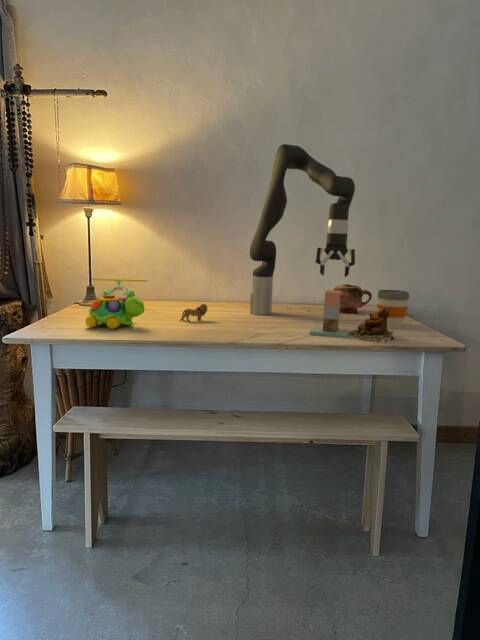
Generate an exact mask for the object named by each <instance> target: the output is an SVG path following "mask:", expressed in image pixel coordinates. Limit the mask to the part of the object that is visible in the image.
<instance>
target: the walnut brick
mask: <svg viewBox="0 0 480 640" xmlns="http://www.w3.org/2000/svg"><path fill="white" fill-rule="evenodd" d="M339 321H340V316H339V317H338V319H325V318H324V317H323V322H322V324H323V325H322V327H323V331H325V332H337V330H338V328H339V324H340V323H339Z"/></svg>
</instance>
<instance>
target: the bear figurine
mask: <svg viewBox="0 0 480 640" xmlns="http://www.w3.org/2000/svg"><path fill="white" fill-rule="evenodd" d="M389 310H390V308H388V309H386V308H385V307H384V308H381V309H378V308H377V309H375V310H374V312H373V313H372V312H369V318H366V319H365V320H364V322H362V323H360V324H359V325H358V326H357V329H353V330H351V331H350V333H349V335H351V336H353V337H356V338H357V339H363V340H366V341H367V340H368V341H372V342H375V341H378V342H380V343H386V342H389V341H391V340H392V339H396V336H395V335H394V332H393V331H391V330H388V328H387V317H388V316H389Z"/></svg>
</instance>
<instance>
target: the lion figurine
mask: <svg viewBox="0 0 480 640" xmlns="http://www.w3.org/2000/svg"><path fill="white" fill-rule="evenodd" d="M207 312H208V305H207V304H206V303H202V304H201V305H199V306H198V307H196V308H195V309H194V308H193V309H192V308H185V309H184V310H183V311H182V315H181V318H180V320H179V322H180V321H181V322H182V321H183V322H185V320H186V321H187V322H188V323H190V322H191V320H189V318H190V317H191V316H192V317H197V318H196V319H197V320H196V321H199V322H200V321H202V317H203V316H205V315H206V314H207ZM185 318H186V319H185Z"/></svg>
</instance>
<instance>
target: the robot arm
mask: <svg viewBox="0 0 480 640" xmlns="http://www.w3.org/2000/svg"><path fill="white" fill-rule="evenodd" d="M273 161H274V162H273V167H272V172H271V179H270V181H269V185H268V190H267V194H266V196H265V199H264V203H263V207H262V211H261V215H260V218H259V222H258V224H257V227H256V231H255V233H254V236H253V238H252V241H251V243H250V248H249V257H250V259H251V260H252V261H255V262H261V265H259V266H258V267H257V268H254V269H253V270H252V287H251V290H252V291H251V292H250V306H249V307H250V309H249V313H250V314H253V315H259V316H269V315H272V312H273V311H272V310H273V309H272V308H273V307H272V306H273V287H274V286H273V285H274V284H273V283H274V274H275V270H276V262H277V261H276V259H277V246H276V244H275V242H274V241H272V240H267V238H268V236H269V234H270V232H271V231H272V230H273V229H274V228H275V227H276V226H277V225H278V224H279V222H280V221H281V219H282V218H283V217H284V213H285V210H286V208H287V204H288V198H287V193H286V192H287V191H286V188H285V177H286V173H287V170H299V171H303V172H305V173H306V174H307V176H308V178H309V179H310V181H312V182H314V183H315V184H317V185H318V186H320V187H321V188H322V189H323V190H324V191H325V192H326V193H327V194H329V195H330V196H334V197H338V199H337V201H336V202H335V203H334V202H333V203H331V204H330V206H329V209H328V211H329V213H328V221H327V229H326V245H325V248H324V247H320V246H319V247H317V250H316V258H315V263H316V264H318V265H319V266H320V268H319V273H320V275H321V276H325V269H326V268H325V267H326V265H325V264H326V263H327V261H328V260H331V261H334V260H336V261H342V262H343V264H344V265H345V267H344V278H348V276H349V275H350V267H352V266H354V265H355V264H356V249H354V248H351V249H348V247H347V246H348V234H349V214H350V213H349V212H350V206H351V204H352V201H353V198H354V195H355V191H356V184H355V181H354V180H353V179H352V177H349V176H342V175H341V176H339V175H336V172H335V171H334V170H332V168H329V167H328V166H326V165H324V164H322V163H321V162H319V161H318V160H316V159H314V157H312V156H311V155H310V154H309V153H308V152H307V151H306V150H305V149H303V148H302V147H300V146H299V145H294V144H287V143H283V144H281V145H280V146H278V147H277V150H276V153H275V155H274V160H273ZM323 253H325V255H326V256H325V257H324V258H323V259H322V260H321V257H322V256H321V255H322V254H323ZM347 253H348V254H349V255H350V262H349V261H348V259H347V258H346V255H347Z"/></svg>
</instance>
